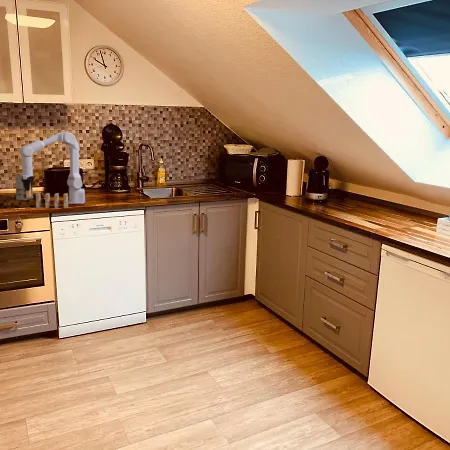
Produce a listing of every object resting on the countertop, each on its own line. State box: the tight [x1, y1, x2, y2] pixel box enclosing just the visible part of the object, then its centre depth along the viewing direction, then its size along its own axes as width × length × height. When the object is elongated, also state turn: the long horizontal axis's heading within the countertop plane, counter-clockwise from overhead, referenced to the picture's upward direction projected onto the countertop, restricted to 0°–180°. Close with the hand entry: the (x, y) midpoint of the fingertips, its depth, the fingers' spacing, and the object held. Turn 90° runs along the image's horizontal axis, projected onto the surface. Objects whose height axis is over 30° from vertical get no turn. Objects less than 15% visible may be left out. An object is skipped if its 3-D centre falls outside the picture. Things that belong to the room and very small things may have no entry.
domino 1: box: [35, 192, 42, 209], centre depth 282 cm, size 2×5×8 cm, turn 9°
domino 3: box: [53, 192, 60, 209], centre depth 284 cm, size 2×5×8 cm, turn 9°
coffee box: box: [14, 173, 34, 201], centre depth 304 cm, size 9×6×16 cm
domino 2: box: [44, 192, 51, 209], centre depth 283 cm, size 2×5×8 cm, turn 9°
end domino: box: [26, 183, 31, 197], centre depth 279 cm, size 2×5×8 cm, turn 10°
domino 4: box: [63, 192, 69, 209], centre depth 284 cm, size 2×5×8 cm, turn 10°
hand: (28, 189), depth 280 cm, fingers closed on end domino, 5 cm apart
